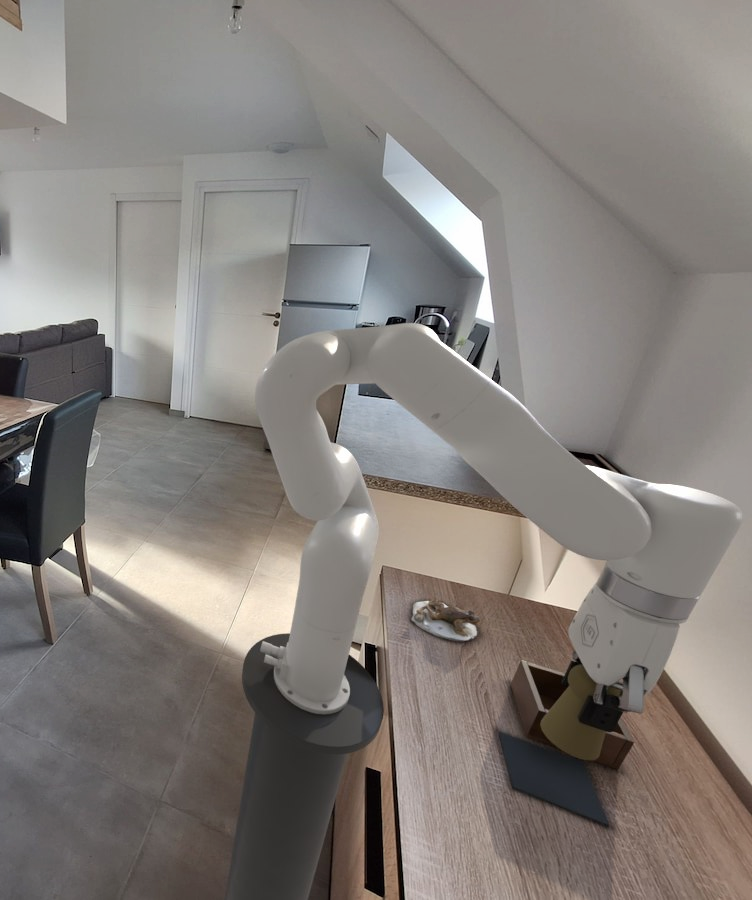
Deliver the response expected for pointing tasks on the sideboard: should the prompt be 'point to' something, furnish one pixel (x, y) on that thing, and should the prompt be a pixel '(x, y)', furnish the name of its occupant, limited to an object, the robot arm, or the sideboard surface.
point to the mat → (551, 778)
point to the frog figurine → (445, 620)
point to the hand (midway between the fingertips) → (585, 705)
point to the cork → (575, 718)
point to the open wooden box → (536, 698)
